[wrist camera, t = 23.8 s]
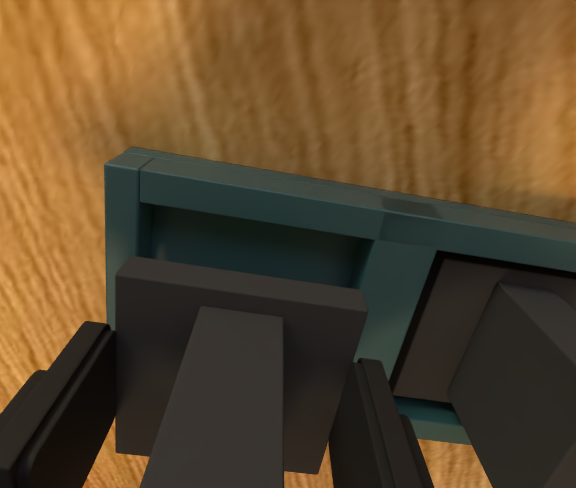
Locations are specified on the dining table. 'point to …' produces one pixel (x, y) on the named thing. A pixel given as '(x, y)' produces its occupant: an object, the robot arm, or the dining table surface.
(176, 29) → the dining table surface
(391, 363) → the dock board
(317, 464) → the pad
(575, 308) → the dark brown stand
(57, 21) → the dining table surface
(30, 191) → the dining table surface
